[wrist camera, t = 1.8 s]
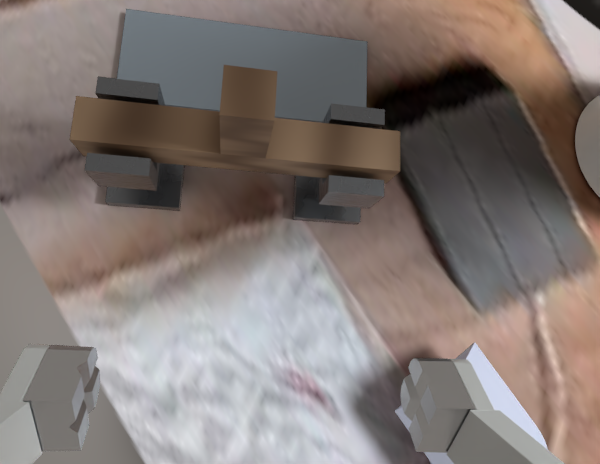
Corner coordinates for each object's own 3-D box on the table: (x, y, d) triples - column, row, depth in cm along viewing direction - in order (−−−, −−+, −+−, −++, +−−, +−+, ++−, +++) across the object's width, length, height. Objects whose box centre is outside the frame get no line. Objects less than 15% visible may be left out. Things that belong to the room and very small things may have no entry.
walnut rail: (386, 146, 37) (436, 90, 28) (386, 183, 36) (437, 138, 27) (89, 115, 33) (41, 42, 25) (83, 155, 33) (32, 94, 24)
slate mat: (365, 45, 47) (367, 41, 47) (364, 128, 45) (365, 126, 45) (127, 13, 44) (126, 8, 43) (115, 101, 42) (114, 98, 42)
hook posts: (358, 159, 45) (397, 111, 35) (357, 227, 43) (397, 197, 33) (117, 136, 42) (82, 74, 31) (107, 208, 40) (68, 168, 30)
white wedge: (380, 404, 41) (472, 532, 40) (410, 419, 34) (520, 573, 33) (455, 340, 43) (543, 461, 42) (497, 343, 36) (602, 486, 35)
